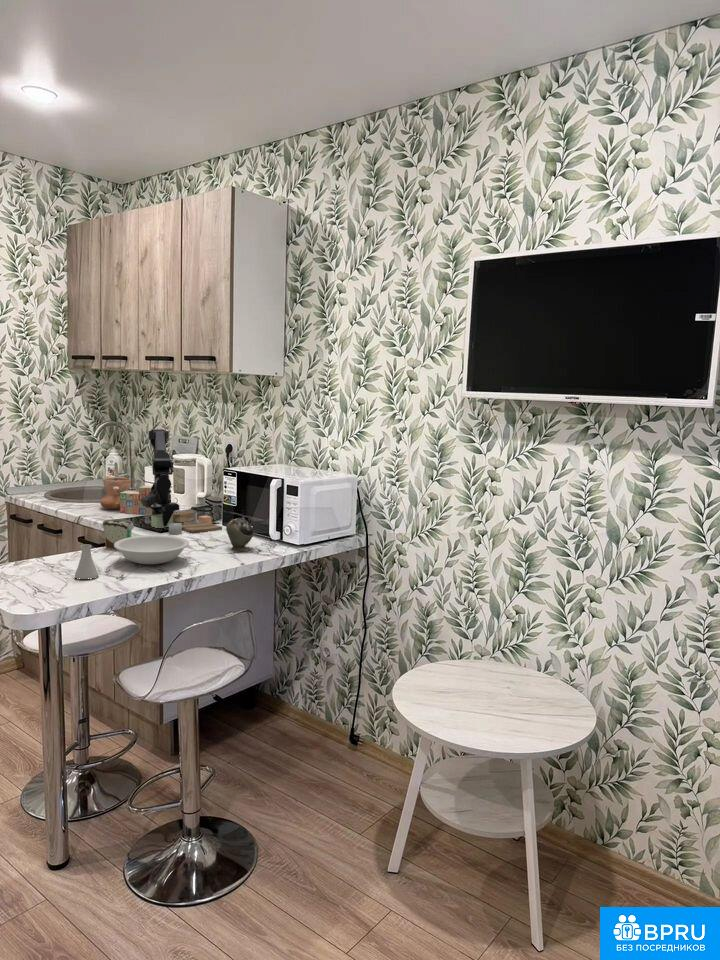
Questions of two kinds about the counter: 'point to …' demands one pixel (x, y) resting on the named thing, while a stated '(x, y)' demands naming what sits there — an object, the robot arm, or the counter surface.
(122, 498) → the stack of blocks
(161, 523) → the sage green brick
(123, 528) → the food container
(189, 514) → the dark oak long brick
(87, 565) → the flask
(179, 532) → the grey plastic cylinder
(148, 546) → the soup bowl
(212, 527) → the walnut board
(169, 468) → the robot arm
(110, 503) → the ceramic jug
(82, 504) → the counter surface
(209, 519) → the terracotta block
